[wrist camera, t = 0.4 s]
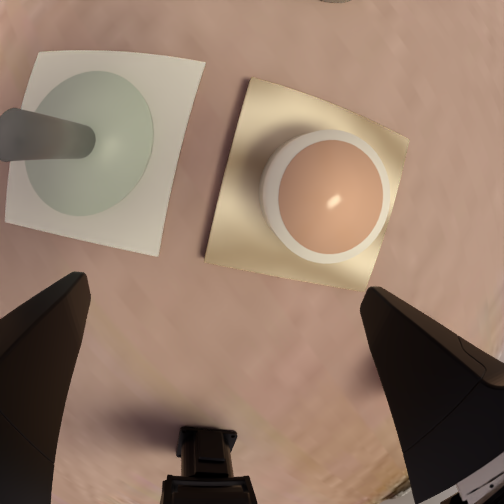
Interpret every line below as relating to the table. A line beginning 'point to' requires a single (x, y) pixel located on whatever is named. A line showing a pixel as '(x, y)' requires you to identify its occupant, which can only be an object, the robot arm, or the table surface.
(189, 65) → the mat
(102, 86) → the lid
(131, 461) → the table surface
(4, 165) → the table surface
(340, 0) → the thermos bottle
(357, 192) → the bowl
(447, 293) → the table surface
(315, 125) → the board
